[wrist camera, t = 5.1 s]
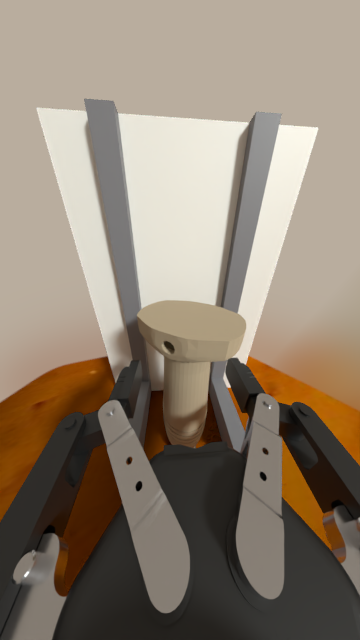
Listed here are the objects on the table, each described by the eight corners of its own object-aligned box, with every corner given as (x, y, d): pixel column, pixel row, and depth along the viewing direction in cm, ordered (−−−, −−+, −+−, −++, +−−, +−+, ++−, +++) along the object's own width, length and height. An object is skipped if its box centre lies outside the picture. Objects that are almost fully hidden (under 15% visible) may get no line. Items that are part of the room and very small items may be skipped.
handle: (170, 405, 18) (166, 296, 12) (217, 432, 16) (249, 311, 9) (145, 445, 15) (119, 318, 8) (203, 490, 12) (240, 356, 5)
